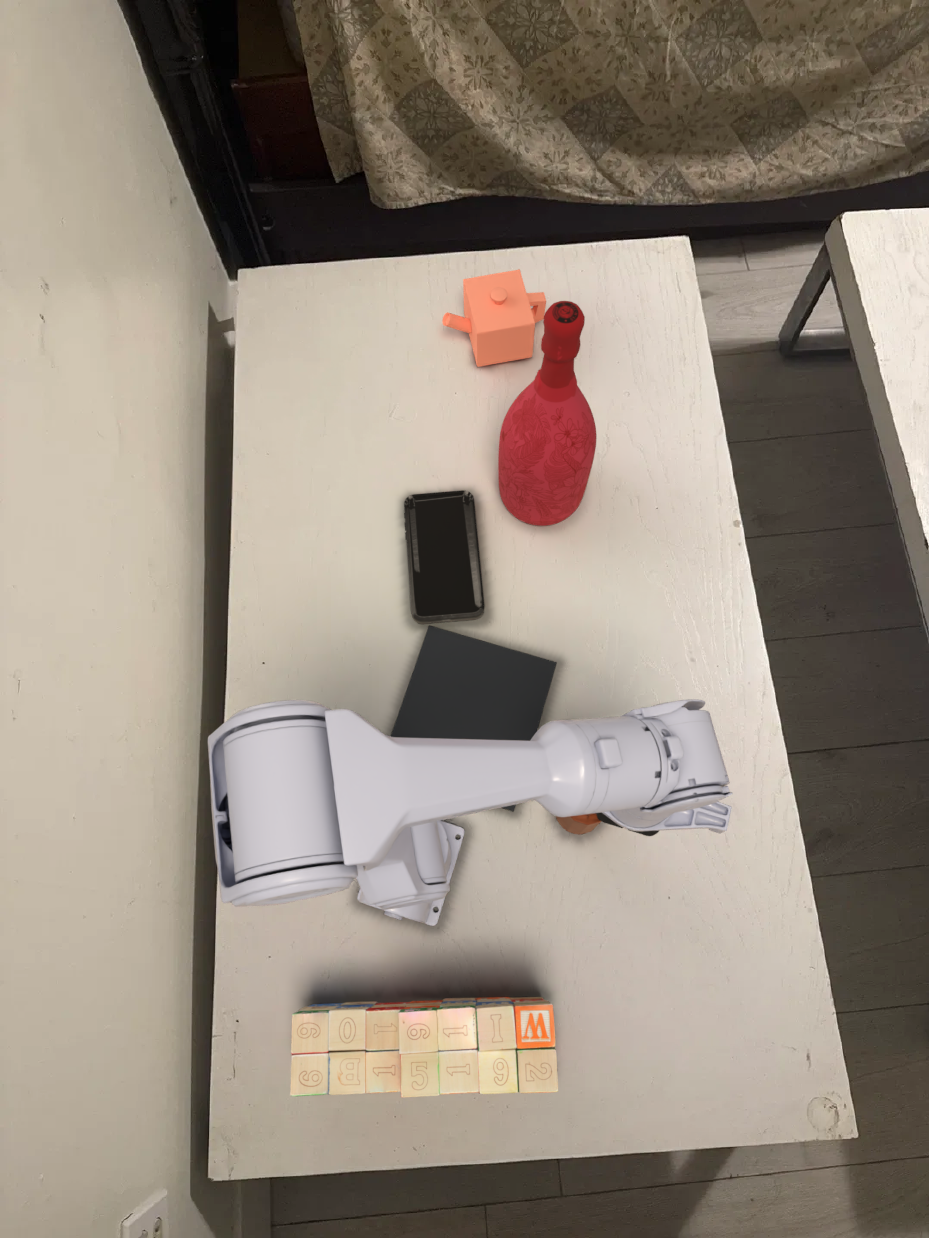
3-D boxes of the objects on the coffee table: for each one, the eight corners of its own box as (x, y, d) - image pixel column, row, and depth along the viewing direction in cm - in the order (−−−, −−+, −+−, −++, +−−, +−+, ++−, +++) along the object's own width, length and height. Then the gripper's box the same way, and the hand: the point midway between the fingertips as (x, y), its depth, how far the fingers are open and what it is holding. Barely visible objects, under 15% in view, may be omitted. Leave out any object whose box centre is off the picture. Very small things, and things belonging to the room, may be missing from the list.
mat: (513, 811, 86) (514, 811, 85) (379, 770, 88) (379, 769, 87) (556, 663, 91) (556, 662, 91) (429, 626, 93) (429, 625, 92)
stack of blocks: (309, 1079, 78) (279, 1103, 66) (311, 1002, 80) (282, 1013, 69) (548, 1070, 78) (560, 1093, 66) (543, 994, 80) (554, 1003, 69)
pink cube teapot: (438, 324, 106) (434, 276, 99) (534, 307, 107) (538, 258, 99) (450, 377, 104) (448, 331, 96) (548, 359, 104) (554, 312, 97)
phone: (473, 489, 97) (485, 615, 92) (473, 494, 98) (485, 618, 93) (402, 495, 97) (410, 621, 92) (403, 500, 98) (411, 625, 93)
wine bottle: (585, 531, 96) (629, 363, 68) (496, 530, 97) (503, 362, 68) (583, 454, 100) (624, 263, 72) (497, 453, 100) (504, 262, 72)
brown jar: (594, 840, 85) (610, 826, 75) (549, 826, 85) (558, 810, 75) (606, 794, 86) (623, 775, 76) (561, 781, 87) (572, 759, 77)
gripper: (756, 759, 65) (710, 788, 78) (568, 703, 67) (554, 741, 80) (737, 851, 63) (694, 866, 76) (544, 791, 65) (533, 816, 77)
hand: (621, 807), depth 78 cm, fingers closed
